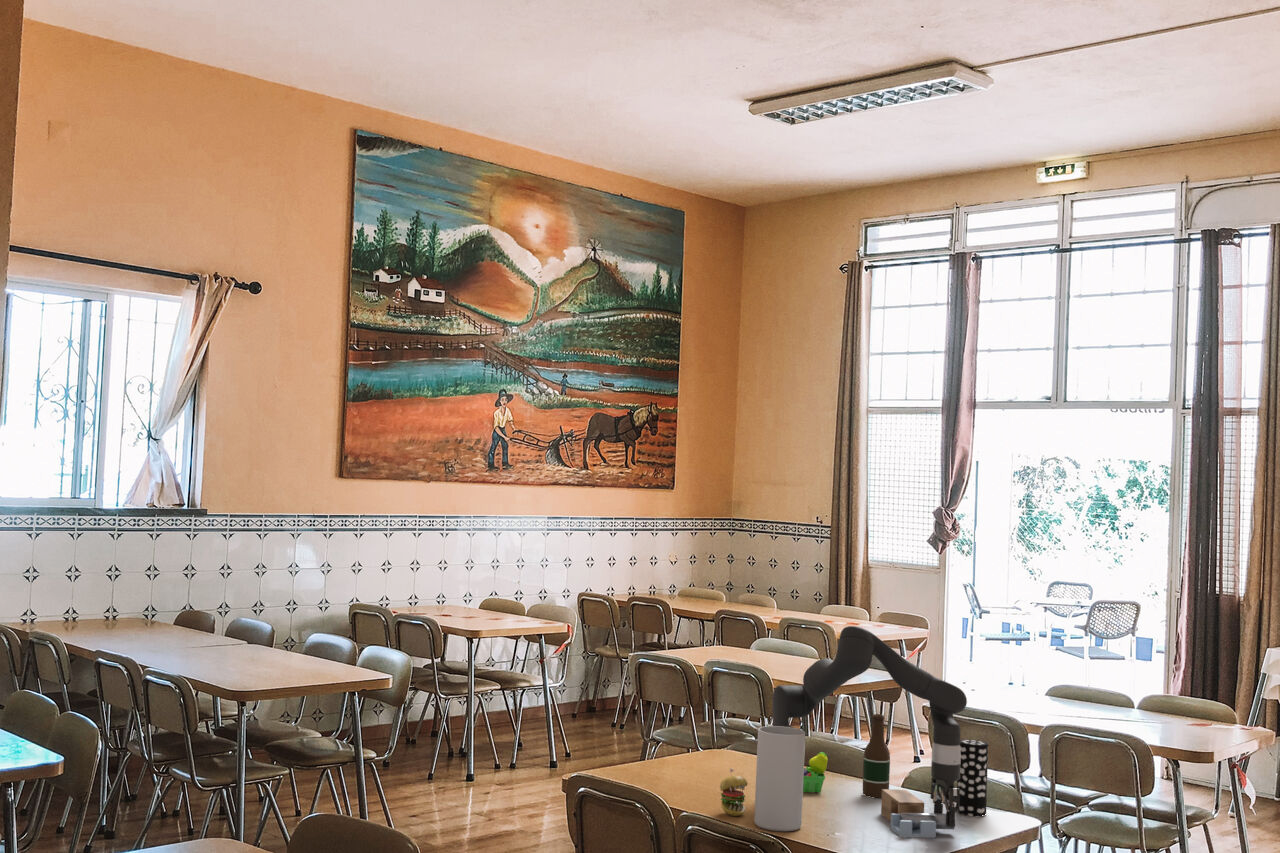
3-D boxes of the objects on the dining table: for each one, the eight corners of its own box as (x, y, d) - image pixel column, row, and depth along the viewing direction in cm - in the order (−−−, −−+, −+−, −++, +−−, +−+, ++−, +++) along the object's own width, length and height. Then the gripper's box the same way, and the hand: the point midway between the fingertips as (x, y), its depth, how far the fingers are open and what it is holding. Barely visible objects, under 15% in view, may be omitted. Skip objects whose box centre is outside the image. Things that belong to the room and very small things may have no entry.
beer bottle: (888, 799, 343) (891, 718, 345) (862, 797, 345) (865, 715, 346) (888, 793, 351) (891, 713, 352) (862, 791, 352) (865, 711, 354)
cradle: (900, 836, 303) (901, 821, 303) (890, 828, 310) (891, 813, 311) (935, 837, 304) (936, 822, 304) (924, 829, 312) (925, 814, 312)
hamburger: (729, 818, 312) (731, 773, 313) (713, 812, 318) (715, 767, 319) (751, 816, 316) (753, 771, 317) (735, 809, 322) (737, 765, 323)
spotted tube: (986, 811, 335) (988, 741, 337) (985, 818, 327) (987, 746, 329) (957, 807, 338) (959, 738, 339) (955, 814, 330) (957, 743, 332)
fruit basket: (795, 784, 357) (796, 747, 358) (824, 786, 357) (825, 749, 358) (799, 793, 346) (800, 754, 347) (829, 794, 346) (830, 756, 346)
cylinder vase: (809, 831, 303) (812, 735, 305) (765, 833, 300) (769, 735, 302) (789, 819, 315) (793, 726, 317) (747, 820, 312) (751, 726, 314)
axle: (903, 831, 305) (905, 816, 305) (898, 824, 309) (900, 809, 309) (954, 832, 307) (956, 817, 306) (948, 825, 311) (950, 811, 310)
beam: (898, 827, 312) (899, 802, 312) (881, 813, 326) (881, 789, 326) (923, 828, 312) (924, 802, 313) (904, 814, 327) (905, 789, 327)
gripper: (970, 766, 303) (968, 829, 302) (949, 755, 317) (947, 815, 316) (942, 766, 302) (940, 829, 301) (922, 754, 316) (920, 814, 315)
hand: (944, 822), depth 308 cm, fingers open, 8 cm apart
